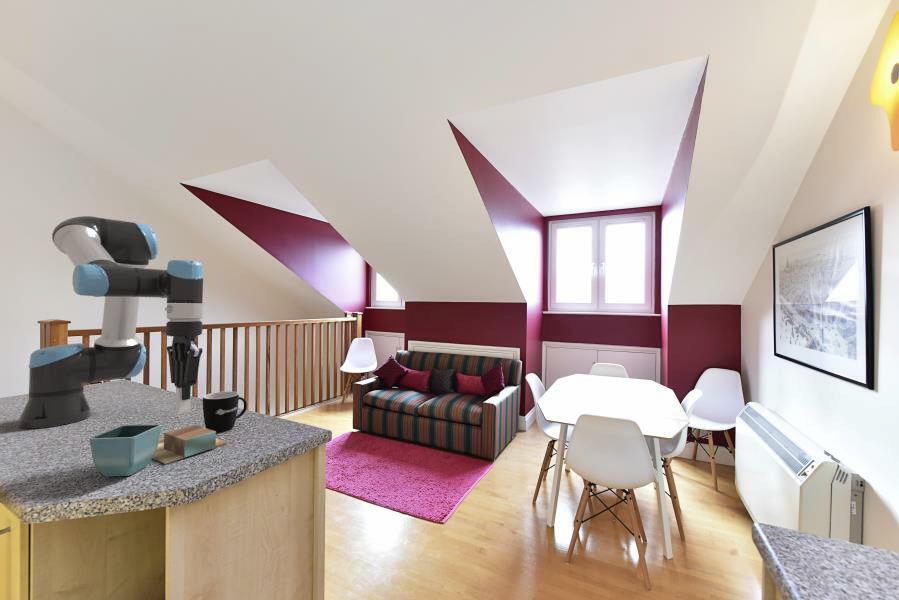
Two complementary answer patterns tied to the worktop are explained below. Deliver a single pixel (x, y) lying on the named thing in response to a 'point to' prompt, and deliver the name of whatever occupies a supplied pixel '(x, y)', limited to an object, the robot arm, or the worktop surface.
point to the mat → (168, 456)
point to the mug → (221, 410)
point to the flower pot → (125, 449)
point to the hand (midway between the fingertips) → (183, 411)
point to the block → (189, 440)
